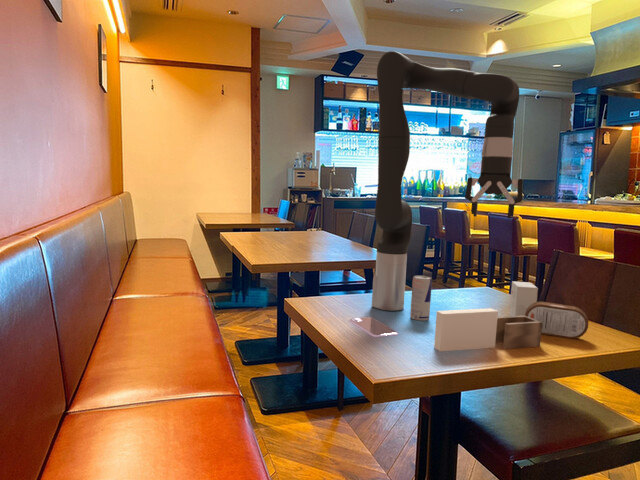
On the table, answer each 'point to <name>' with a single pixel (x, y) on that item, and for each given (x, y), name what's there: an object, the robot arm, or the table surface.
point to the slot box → (518, 331)
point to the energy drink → (421, 298)
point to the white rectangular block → (465, 329)
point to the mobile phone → (373, 327)
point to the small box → (522, 297)
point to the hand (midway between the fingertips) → (491, 217)
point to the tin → (559, 319)
